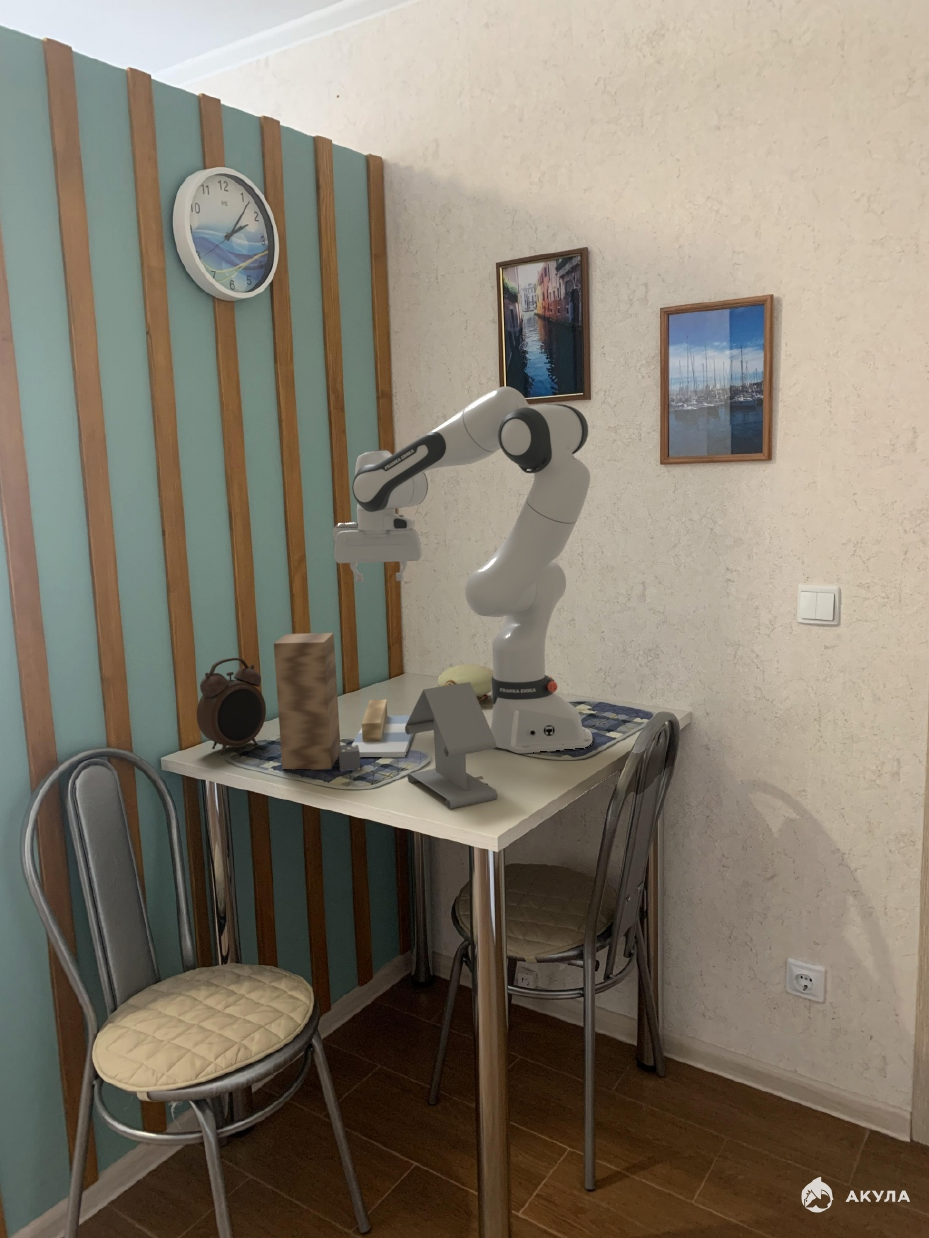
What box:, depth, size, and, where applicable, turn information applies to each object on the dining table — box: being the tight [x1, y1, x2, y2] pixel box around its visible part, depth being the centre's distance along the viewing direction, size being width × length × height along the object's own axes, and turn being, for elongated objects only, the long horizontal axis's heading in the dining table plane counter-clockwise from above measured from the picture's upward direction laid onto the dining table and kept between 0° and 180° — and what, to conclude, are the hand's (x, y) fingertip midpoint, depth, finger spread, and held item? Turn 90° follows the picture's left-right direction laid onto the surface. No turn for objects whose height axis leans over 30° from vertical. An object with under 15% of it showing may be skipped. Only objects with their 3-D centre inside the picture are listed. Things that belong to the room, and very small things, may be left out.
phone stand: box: [405, 682, 498, 810], centre depth 173 cm, size 18×10×20 cm, turn 28°
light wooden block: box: [361, 699, 388, 742], centre depth 212 cm, size 4×20×4 cm, turn 1°
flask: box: [437, 663, 493, 703], centre depth 237 cm, size 9×16×18 cm
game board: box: [350, 714, 414, 758], centre depth 209 cm, size 12×28×1 cm, turn 177°
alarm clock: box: [196, 657, 267, 755], centre depth 203 cm, size 14×7×20 cm, turn 137°
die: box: [338, 745, 361, 771], centre depth 189 cm, size 4×4×4 cm
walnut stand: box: [273, 632, 341, 771], centre depth 192 cm, size 10×10×26 cm
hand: (379, 581), depth 219 cm, fingers open, 8 cm apart
